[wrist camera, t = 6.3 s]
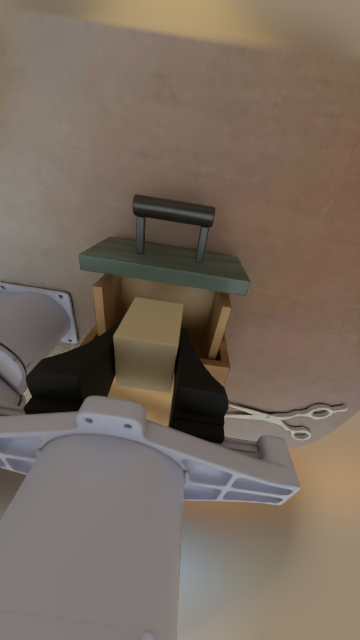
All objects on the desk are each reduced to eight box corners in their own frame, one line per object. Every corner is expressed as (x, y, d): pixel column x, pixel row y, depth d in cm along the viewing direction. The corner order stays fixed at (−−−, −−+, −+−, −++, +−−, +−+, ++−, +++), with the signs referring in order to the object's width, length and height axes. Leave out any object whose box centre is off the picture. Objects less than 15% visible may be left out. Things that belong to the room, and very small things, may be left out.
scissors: (315, 442, 38) (208, 427, 37) (313, 438, 38) (207, 423, 38) (348, 409, 32) (222, 391, 31) (345, 404, 32) (221, 386, 32)
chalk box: (134, 340, 18) (115, 385, 14) (135, 296, 16) (112, 335, 12) (176, 346, 18) (170, 393, 14) (183, 303, 16) (178, 346, 12)
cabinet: (110, 303, 26) (79, 345, 19) (222, 320, 26) (230, 368, 19) (115, 380, 34) (94, 429, 27) (200, 393, 34) (200, 444, 27)
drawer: (106, 186, 18) (68, 186, 13) (251, 209, 18) (272, 219, 13) (115, 340, 28) (95, 377, 22) (208, 355, 28) (211, 394, 23)
